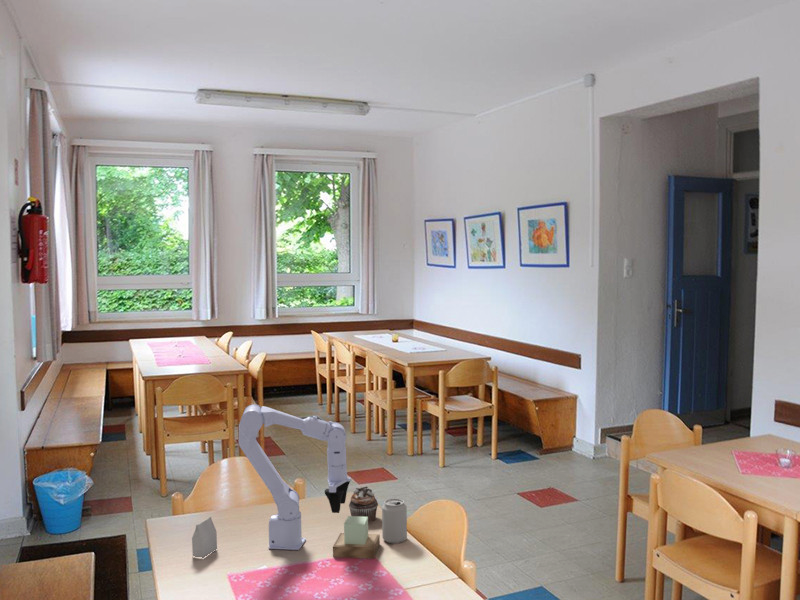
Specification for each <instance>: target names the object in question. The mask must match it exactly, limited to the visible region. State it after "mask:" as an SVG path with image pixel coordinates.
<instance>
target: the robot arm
mask: <svg viewBox="0 0 800 600" xmlns="http://www.w3.org/2000/svg"><path fill="white" fill-rule="evenodd" d="M263 425H264V428H268V427H270V426H273V425H278V426H283V427H287V428H292V429H297V430H300V431H301V433H302V435H303V436H306V437H310V438H313V439H316V440H319V441H323V442H324V441H325V442H326V441H327V448H326V453H327V458H326V459H327V483H328V488H325V490H324V495H325V496H326V498H327V500H328V502H329V506H330V510H331V513H333V514H339V513H340V510H341V504H343V505H345V503H346V500H347V493H348V490H349V489H348V488H349V485H350V483H351V481H352V477H351V476H350V477H349V476H348V470H347V469H348V468H347V466H348V465H347V448H346V446H347V445H346V440H347V435H346V429H345V427H344V426H343V425H342V424H341V423H339V422H336V421H334V422H333V421H332V420H329V421H327V420H322V419H319V418H318V416H317V415H312V416H307V417H306V418H302V417H298V416H295V415H292V414H289V413H286V412H285V411H284V412H283V411H280V410H278V409H274V408H271V407H268V406H265V405H264V406H263V405H262V406H260V405H259V404H250V405H248V406H247V407H245V408H244V410H243V413H242V415H241V418H240V421H239V424H238V446H239V448H240V450H242V452H243V453H244V455H245V456H246V458H247V460H248V461H249V462H250V464H251V466H252V467H253V469H254V470H255V471H256V473H257V475H258V476H259V477H260V479H261V480H262V481H263V484H265V486H266V488H267V489H268V490H269V492H270V493H271V495H272V499H273V501H274V504H275V505H276V507H277V514H272V515H271V516H270V518H269V521H268V549H269V550H270V549H271V550H286V551H287V550H289V551H291V550H292V551H299V550H300V549H301V548H302V546H303V545H304V543H305V541H306V540H307V538H306V537H302V536H303V534H302V530H303V529H302V512H301V511H300V495H299V493H298V491H296V490H294V489H293V488H291V487H290V485H289V484H288V483H287V482H285V481H284V480H283V478H282V476H281V475H280V473H279V472H278V470H277V469H276V467H275V466H274V465H273V462H271V460H270V459H269V457H268V456H267V453H265V451H264V449H263V448H262V446H261V445H260V444H259V442H258V441H257V436H258V433H259V431H260V430H261V428H262V426H263Z"/></svg>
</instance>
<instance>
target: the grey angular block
mask: <svg viewBox="0 0 800 600" xmlns="http://www.w3.org/2000/svg"><path fill="white" fill-rule="evenodd" d="M217 540H218V537H217V529H216V527H215V524H214V522H213V519H212V516H208V517H207V518H206V519H204V520H202V521H201V522H199V523H197V524H196V525H195V530H194V531H193V534H192V537H191V545H192V548H191V549H192V550H191V552H192V557H193V556H195V557H202V558H204V557H205V556H207V555H208V554H210V553H211V552H213V551H214V550H216V549H217V550H218V541H217Z"/></svg>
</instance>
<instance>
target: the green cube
mask: <svg viewBox="0 0 800 600" xmlns="http://www.w3.org/2000/svg"><path fill="white" fill-rule="evenodd" d="M343 530H344V531H343V533H344V543H345V544H361V545H365V543H366V541H367V538H368V534H369V523H368V517H361V516H351V515H347V517H346V519H345V521H344V523H343Z"/></svg>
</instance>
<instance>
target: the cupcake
mask: <svg viewBox="0 0 800 600" xmlns="http://www.w3.org/2000/svg"><path fill="white" fill-rule="evenodd" d="M368 487H369V486H364V487H360V488H358V487H356V488H355V489H353V491H352V492H353V494H352V495H351V497H350V502H349V504H348V508H349V512H350V516H361V517H368V522H369V523H371V521H372V522H374V521H376V516H377V512H378V511H377V510H378V507H379V503H378V500H377V498H376V496H375V492H374V491H373V489H371V488H368Z"/></svg>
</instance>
